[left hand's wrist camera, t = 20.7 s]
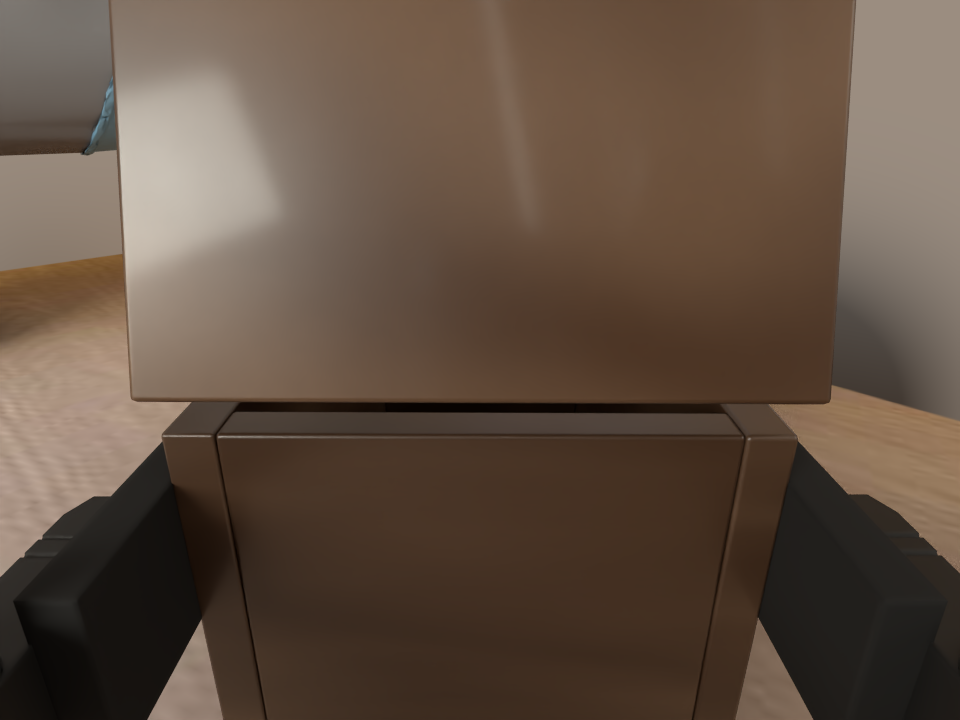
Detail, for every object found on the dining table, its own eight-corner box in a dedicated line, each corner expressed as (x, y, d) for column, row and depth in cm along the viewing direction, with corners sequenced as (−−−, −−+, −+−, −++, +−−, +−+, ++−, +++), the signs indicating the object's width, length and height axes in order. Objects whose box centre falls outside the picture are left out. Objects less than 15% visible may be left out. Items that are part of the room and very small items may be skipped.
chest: (371, 432, 28) (356, 225, 24) (589, 432, 28) (605, 225, 24) (244, 822, 13) (159, 434, 9) (713, 825, 13) (802, 437, 9)
